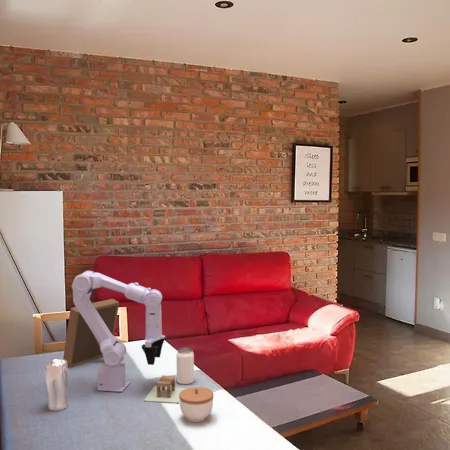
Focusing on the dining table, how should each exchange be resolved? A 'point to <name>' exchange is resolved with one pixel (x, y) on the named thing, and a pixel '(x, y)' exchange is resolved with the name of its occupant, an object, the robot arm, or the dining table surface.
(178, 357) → the can
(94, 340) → the photo frame
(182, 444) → the dining table surface
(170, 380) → the stool
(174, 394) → the mat
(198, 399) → the lidded jar
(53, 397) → the beer glass
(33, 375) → the dining table surface
